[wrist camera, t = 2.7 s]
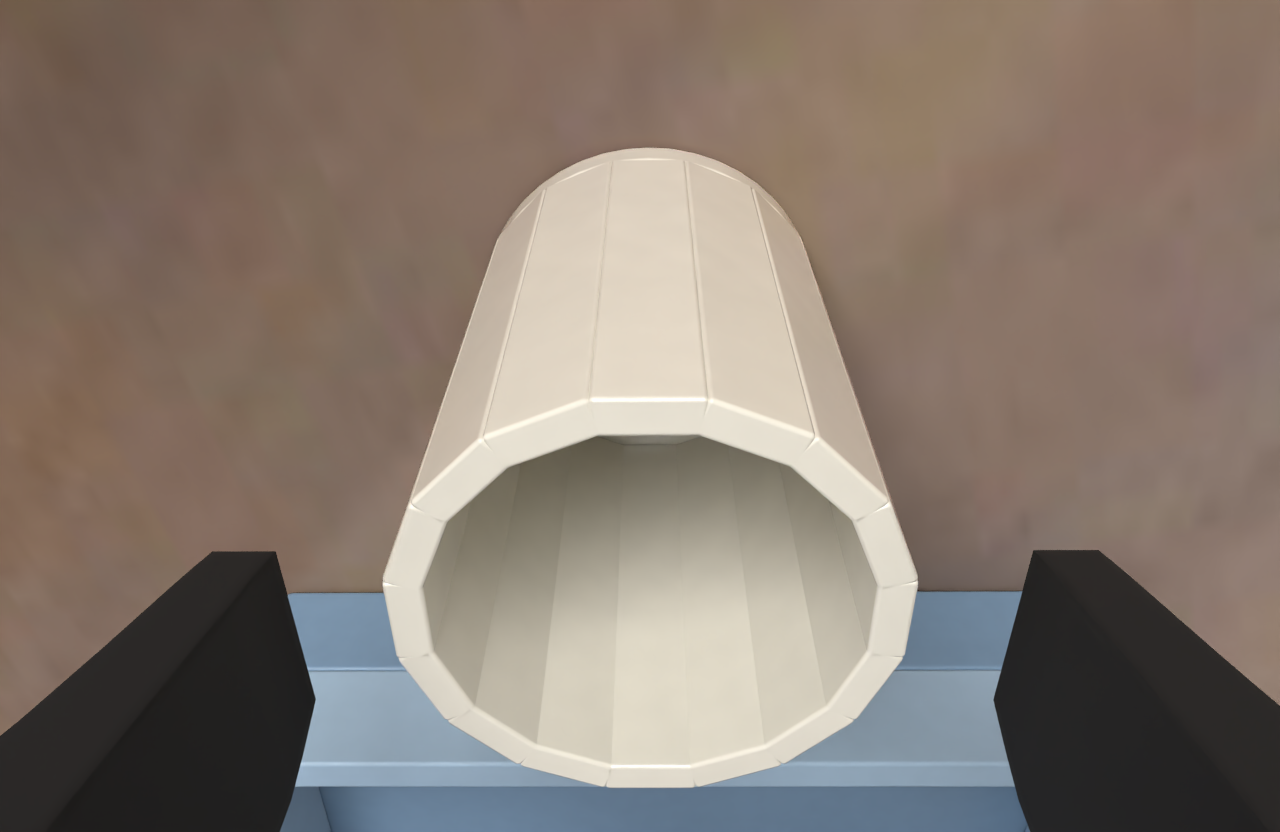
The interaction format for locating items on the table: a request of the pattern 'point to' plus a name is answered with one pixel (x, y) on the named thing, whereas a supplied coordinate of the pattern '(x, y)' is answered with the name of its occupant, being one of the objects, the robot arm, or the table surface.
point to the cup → (650, 493)
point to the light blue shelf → (659, 817)
